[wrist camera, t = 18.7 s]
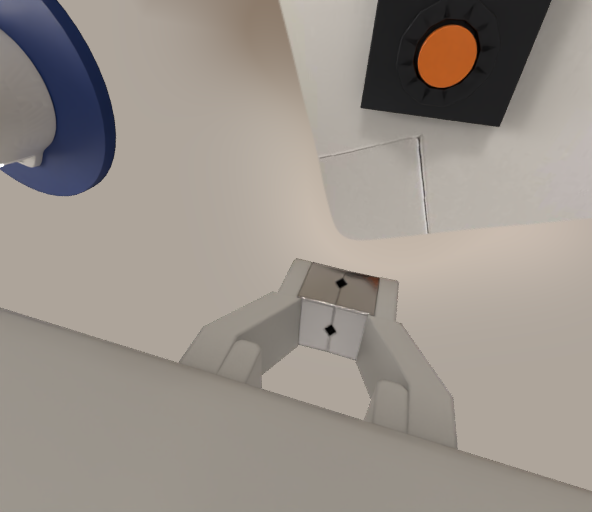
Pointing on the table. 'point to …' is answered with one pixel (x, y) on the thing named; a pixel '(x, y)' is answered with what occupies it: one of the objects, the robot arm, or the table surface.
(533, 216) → the table surface
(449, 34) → the button
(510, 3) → the control block
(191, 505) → the robot arm
